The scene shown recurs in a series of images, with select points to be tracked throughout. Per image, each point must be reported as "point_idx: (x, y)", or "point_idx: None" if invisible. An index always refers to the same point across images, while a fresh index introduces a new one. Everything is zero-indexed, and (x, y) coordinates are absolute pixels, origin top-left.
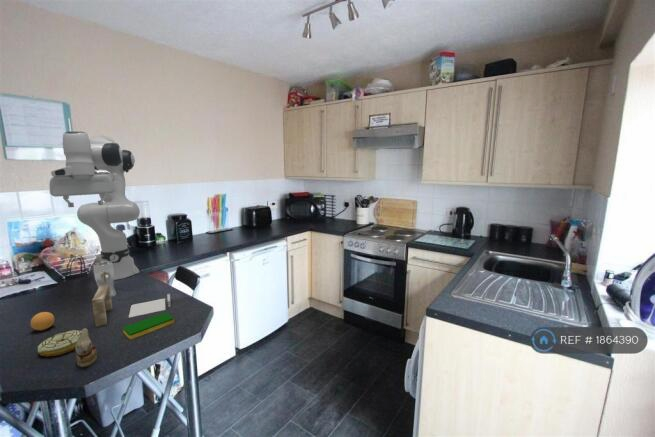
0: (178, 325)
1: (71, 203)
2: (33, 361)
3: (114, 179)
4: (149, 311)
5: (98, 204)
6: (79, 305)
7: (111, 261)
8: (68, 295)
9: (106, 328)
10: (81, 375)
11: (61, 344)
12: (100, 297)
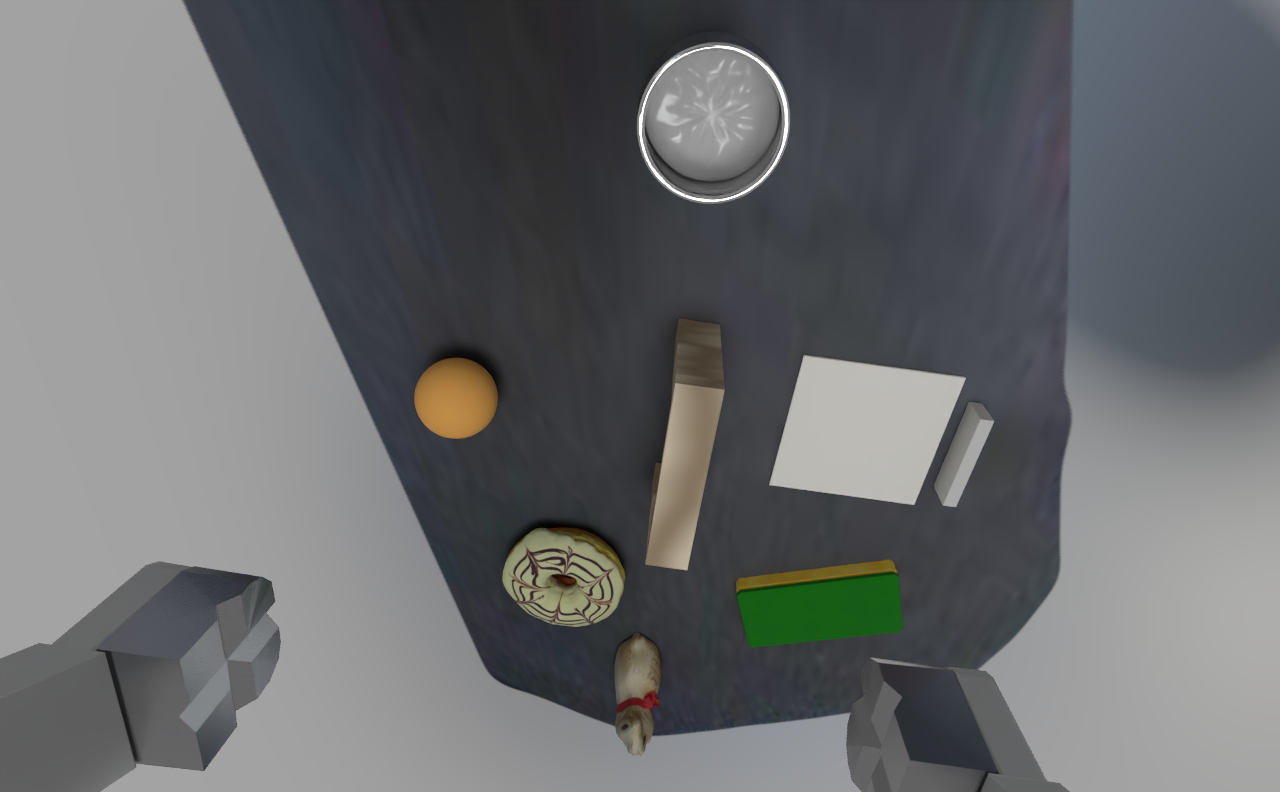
0: (900, 639)
1: (193, 741)
2: (505, 589)
3: None
4: (853, 482)
5: (851, 752)
6: (562, 158)
7: (785, 117)
8: None
9: None
10: None
11: (569, 624)
12: (679, 551)
